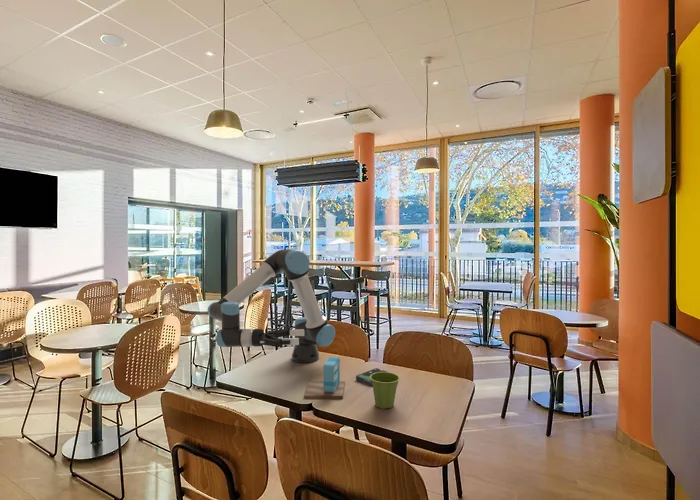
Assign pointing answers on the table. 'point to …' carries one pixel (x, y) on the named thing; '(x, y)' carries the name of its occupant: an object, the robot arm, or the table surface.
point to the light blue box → (331, 375)
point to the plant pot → (384, 388)
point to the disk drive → (367, 376)
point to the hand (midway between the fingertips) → (301, 336)
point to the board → (317, 391)
